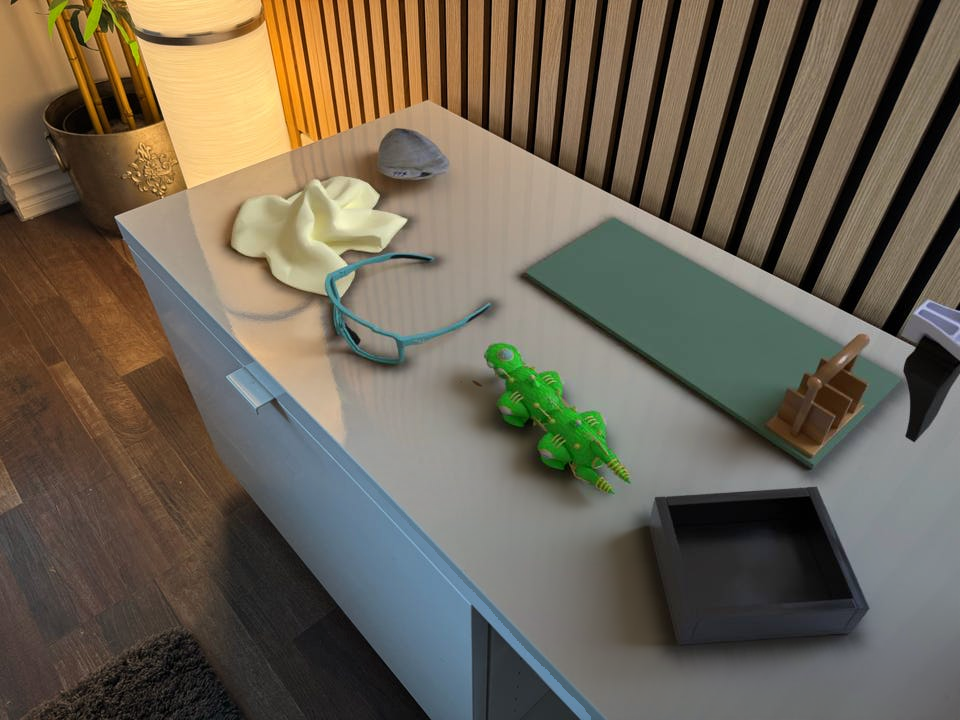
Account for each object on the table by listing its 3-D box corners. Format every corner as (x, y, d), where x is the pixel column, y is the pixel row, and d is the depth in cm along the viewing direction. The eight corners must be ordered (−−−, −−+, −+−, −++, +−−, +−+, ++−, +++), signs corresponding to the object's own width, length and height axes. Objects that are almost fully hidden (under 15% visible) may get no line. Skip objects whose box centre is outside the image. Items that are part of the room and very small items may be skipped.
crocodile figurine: (520, 352, 72) (520, 319, 69) (651, 479, 61) (657, 447, 58) (462, 382, 70) (459, 349, 67) (588, 520, 59) (591, 489, 56)
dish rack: (816, 379, 68) (842, 318, 62) (863, 407, 65) (894, 346, 60) (764, 426, 64) (786, 366, 59) (811, 458, 62) (839, 398, 56)
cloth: (209, 218, 89) (193, 172, 85) (349, 166, 96) (341, 121, 92) (287, 321, 76) (273, 274, 72) (442, 253, 83) (438, 206, 79)
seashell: (357, 164, 96) (351, 128, 93) (413, 143, 100) (409, 108, 96) (405, 207, 90) (400, 170, 86) (463, 183, 93) (461, 146, 89)
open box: (803, 514, 59) (817, 486, 56) (851, 633, 52) (870, 608, 49) (648, 524, 59) (654, 496, 56) (677, 645, 52) (686, 620, 49)
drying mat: (899, 382, 68) (901, 378, 67) (812, 469, 62) (814, 465, 61) (613, 221, 86) (614, 217, 86) (524, 276, 80) (524, 271, 80)
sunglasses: (303, 310, 77) (297, 270, 74) (422, 262, 84) (422, 223, 81) (379, 388, 69) (376, 347, 66) (503, 327, 77) (506, 288, 73)
